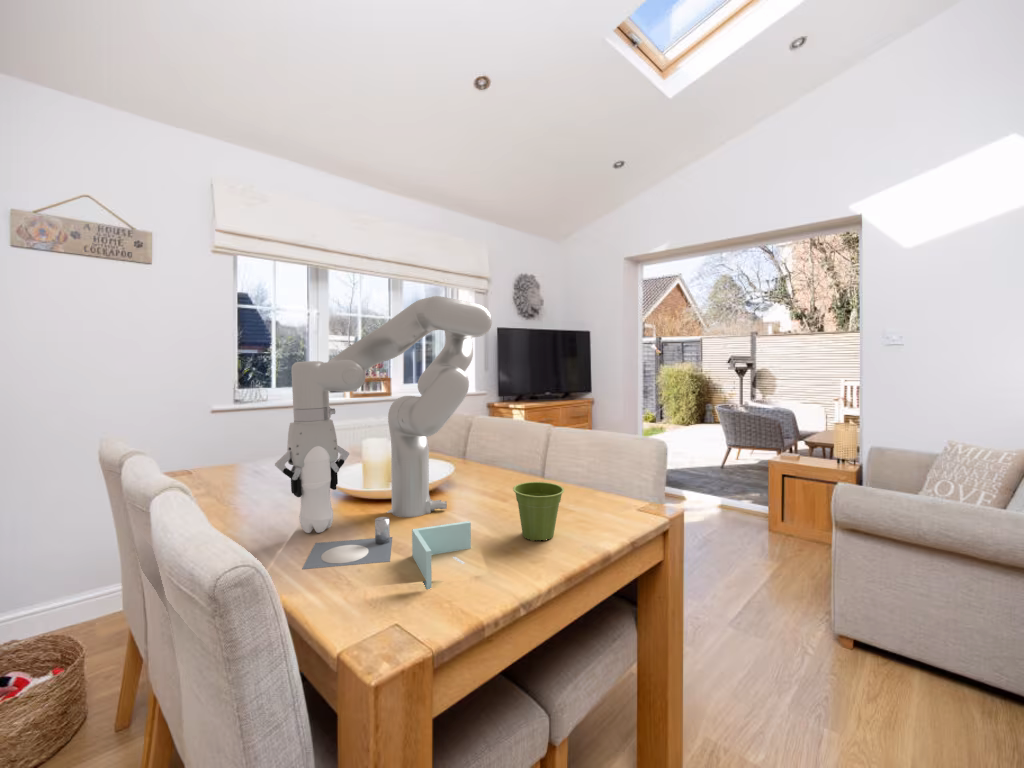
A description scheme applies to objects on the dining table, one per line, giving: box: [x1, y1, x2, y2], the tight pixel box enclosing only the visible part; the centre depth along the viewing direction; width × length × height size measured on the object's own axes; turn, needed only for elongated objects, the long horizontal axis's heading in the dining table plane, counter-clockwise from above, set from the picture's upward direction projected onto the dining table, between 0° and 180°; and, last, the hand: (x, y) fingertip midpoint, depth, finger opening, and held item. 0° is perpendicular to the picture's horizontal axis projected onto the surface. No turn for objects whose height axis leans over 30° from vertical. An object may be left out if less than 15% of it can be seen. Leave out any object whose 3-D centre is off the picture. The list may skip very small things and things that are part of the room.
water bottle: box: [298, 446, 334, 534], centre depth 106 cm, size 7×7×25 cm
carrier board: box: [301, 536, 393, 570], centre depth 95 cm, size 16×13×2 cm
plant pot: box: [512, 481, 565, 541], centre depth 107 cm, size 12×12×11 cm
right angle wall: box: [411, 520, 472, 590], centre depth 89 cm, size 12×12×8 cm
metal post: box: [374, 516, 391, 545], centre depth 100 cm, size 3×3×5 cm
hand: (315, 491), depth 106 cm, fingers closed on water bottle, 7 cm apart
